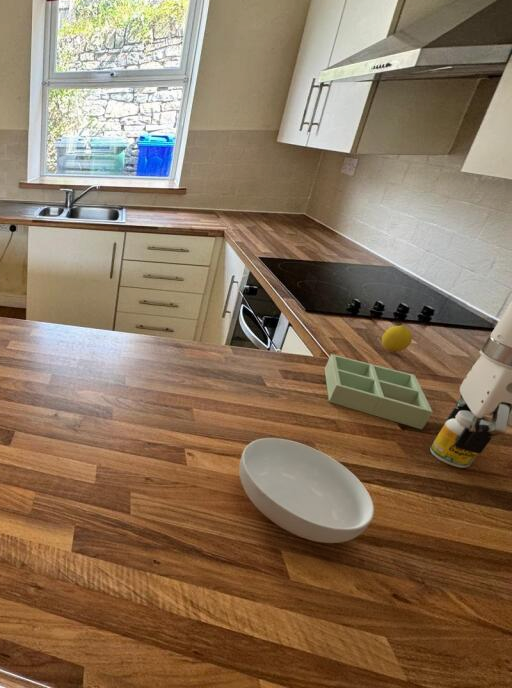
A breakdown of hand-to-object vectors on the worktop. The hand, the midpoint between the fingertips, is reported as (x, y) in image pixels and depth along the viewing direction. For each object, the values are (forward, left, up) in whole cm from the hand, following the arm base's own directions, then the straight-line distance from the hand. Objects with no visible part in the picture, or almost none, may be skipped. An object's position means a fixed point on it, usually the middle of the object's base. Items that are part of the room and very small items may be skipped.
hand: (461, 437), depth 73 cm
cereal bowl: (+25, +30, -5) cm, 39 cm away
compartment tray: (+10, -15, -5) cm, 19 cm away
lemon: (+2, -44, -5) cm, 44 cm away
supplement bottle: (0, 0, -5) cm, 5 cm away
